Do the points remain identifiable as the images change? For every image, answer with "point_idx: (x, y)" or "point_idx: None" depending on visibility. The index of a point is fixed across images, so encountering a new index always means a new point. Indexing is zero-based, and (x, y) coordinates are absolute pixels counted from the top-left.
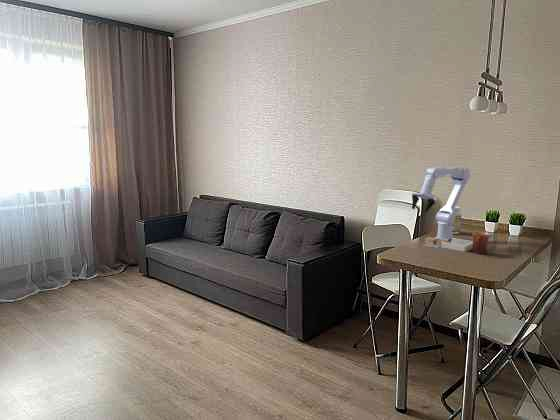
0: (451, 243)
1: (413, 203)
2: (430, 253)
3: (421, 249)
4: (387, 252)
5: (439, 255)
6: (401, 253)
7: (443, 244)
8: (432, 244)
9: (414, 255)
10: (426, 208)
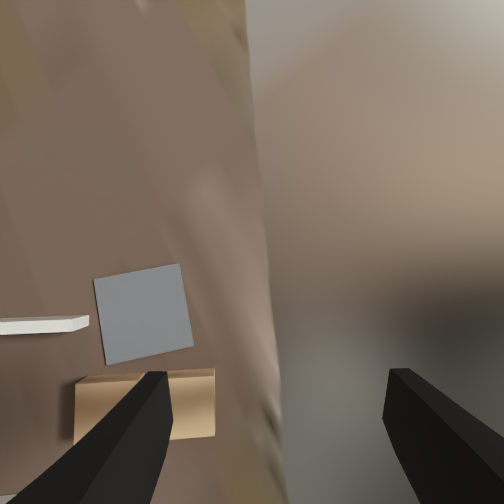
0: (3, 329)
1: (473, 431)
2: (77, 133)
3: (149, 180)
4: (239, 5)
5: (24, 127)
6: (184, 32)
7: (64, 317)
8: (152, 337)
9: (120, 39)
10: (123, 404)
